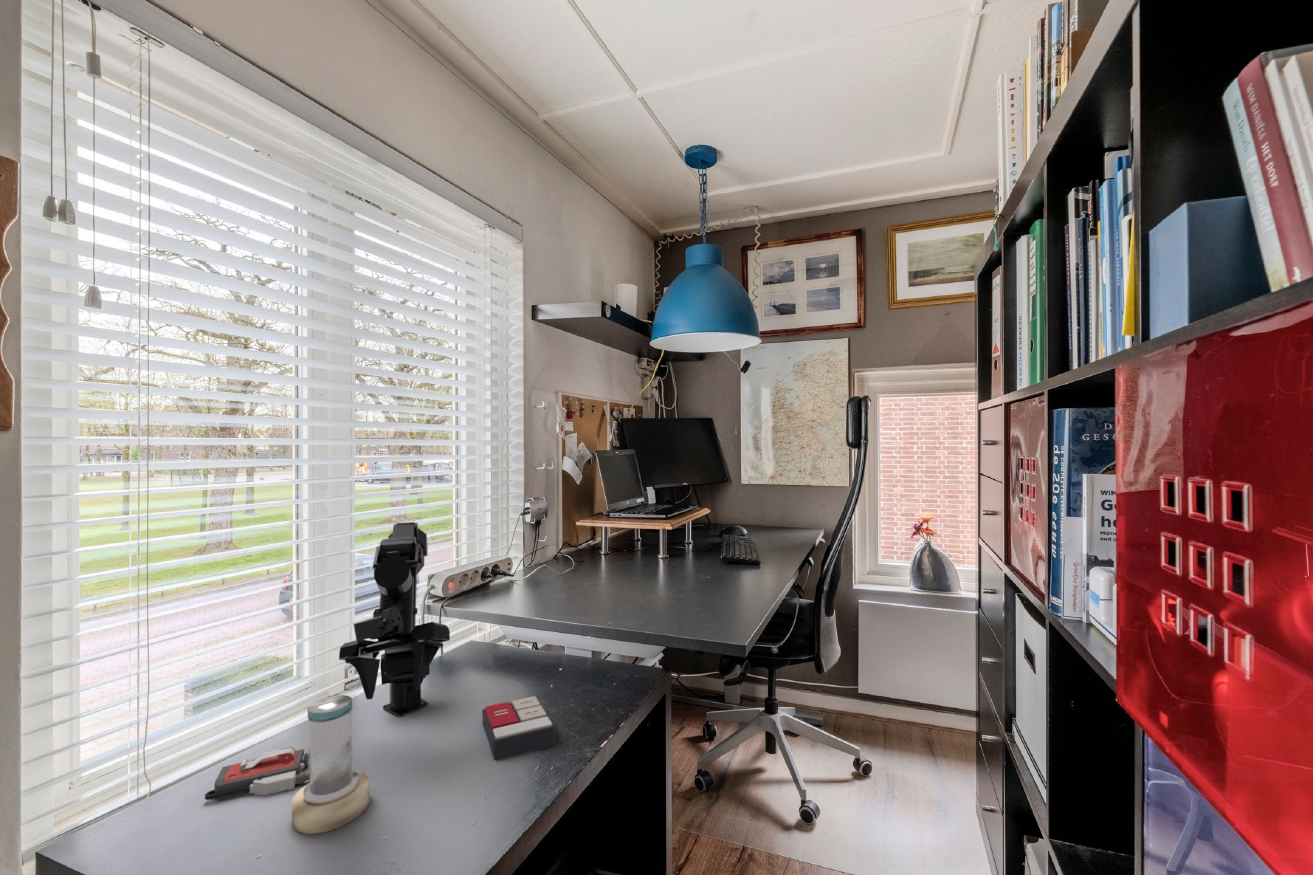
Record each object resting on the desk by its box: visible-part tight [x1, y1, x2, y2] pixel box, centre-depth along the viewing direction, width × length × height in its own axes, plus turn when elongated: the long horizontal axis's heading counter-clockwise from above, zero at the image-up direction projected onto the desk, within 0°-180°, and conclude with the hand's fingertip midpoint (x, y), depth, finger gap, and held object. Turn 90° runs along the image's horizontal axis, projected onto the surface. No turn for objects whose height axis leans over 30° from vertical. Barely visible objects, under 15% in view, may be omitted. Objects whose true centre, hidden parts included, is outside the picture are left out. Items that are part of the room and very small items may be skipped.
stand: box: [291, 770, 370, 835], centre depth 83 cm, size 10×10×3 cm
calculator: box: [481, 695, 557, 761], centre depth 105 cm, size 11×4×15 cm
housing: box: [303, 694, 359, 806], centre depth 83 cm, size 7×7×13 cm
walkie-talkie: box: [204, 746, 310, 801], centre depth 92 cm, size 9×4×20 cm
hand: (393, 693), depth 96 cm, fingers open, 9 cm apart
